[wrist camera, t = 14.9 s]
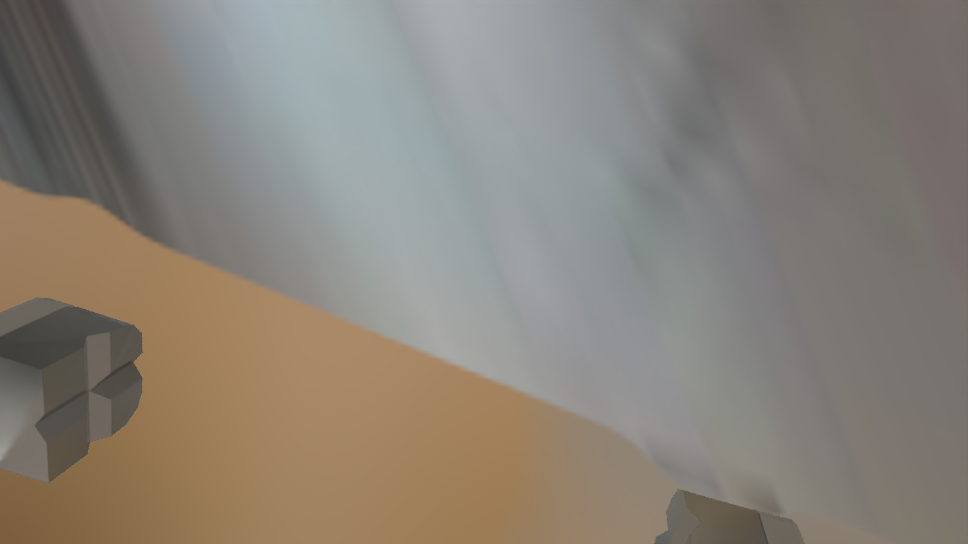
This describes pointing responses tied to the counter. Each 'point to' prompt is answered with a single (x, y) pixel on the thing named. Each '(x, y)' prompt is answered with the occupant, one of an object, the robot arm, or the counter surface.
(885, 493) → the counter surface
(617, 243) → the counter surface
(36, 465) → the robot arm
